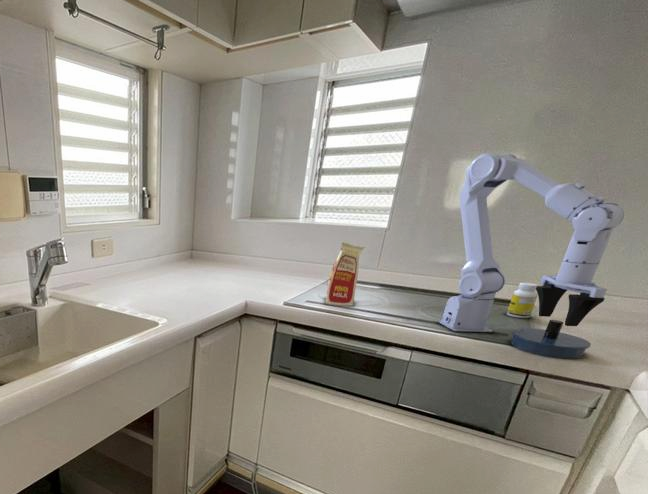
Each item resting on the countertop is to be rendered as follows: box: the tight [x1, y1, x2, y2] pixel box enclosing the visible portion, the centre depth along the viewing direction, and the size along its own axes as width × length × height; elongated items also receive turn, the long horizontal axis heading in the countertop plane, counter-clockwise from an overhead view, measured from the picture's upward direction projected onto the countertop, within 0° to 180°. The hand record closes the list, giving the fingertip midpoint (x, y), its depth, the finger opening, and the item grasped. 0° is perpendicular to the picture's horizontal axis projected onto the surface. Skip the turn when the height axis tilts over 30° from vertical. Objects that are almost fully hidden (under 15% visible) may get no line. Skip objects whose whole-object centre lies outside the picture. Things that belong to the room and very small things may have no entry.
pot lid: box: [511, 319, 591, 349], centre depth 95 cm, size 14×14×5 cm
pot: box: [511, 335, 587, 360], centre depth 96 cm, size 13×13×2 cm
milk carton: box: [325, 241, 366, 306], centre depth 134 cm, size 9×9×20 cm
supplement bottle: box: [506, 282, 539, 319], centre depth 120 cm, size 5×5×10 cm
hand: (557, 320), depth 94 cm, fingers open, 7 cm apart
